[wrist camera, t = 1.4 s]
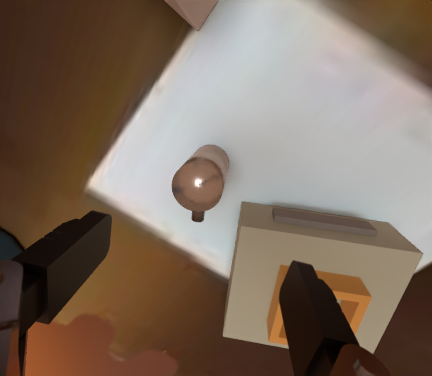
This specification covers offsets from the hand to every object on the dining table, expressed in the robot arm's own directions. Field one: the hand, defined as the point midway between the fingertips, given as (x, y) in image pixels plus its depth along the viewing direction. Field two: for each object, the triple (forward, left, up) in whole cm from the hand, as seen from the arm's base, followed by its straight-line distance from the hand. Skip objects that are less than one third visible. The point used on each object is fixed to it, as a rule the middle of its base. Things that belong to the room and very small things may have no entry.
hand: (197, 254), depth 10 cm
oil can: (+2, +3, -23) cm, 23 cm away
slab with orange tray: (-13, +16, -23) cm, 31 cm away
